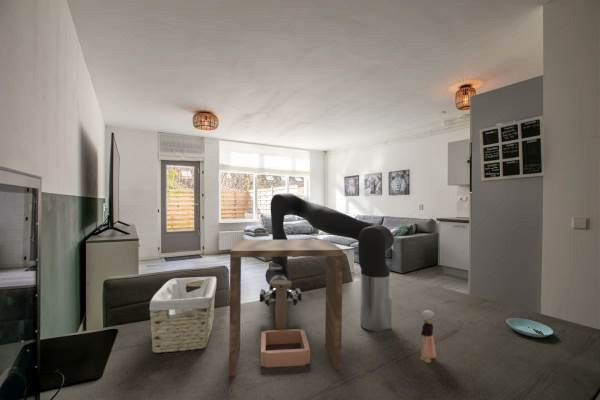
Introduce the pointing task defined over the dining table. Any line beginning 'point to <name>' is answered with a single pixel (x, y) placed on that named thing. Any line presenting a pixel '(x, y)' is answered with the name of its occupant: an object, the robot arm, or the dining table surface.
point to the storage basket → (182, 314)
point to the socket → (284, 356)
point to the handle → (281, 302)
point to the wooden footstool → (289, 250)
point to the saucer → (523, 325)
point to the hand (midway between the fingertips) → (281, 302)
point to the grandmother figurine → (427, 337)
